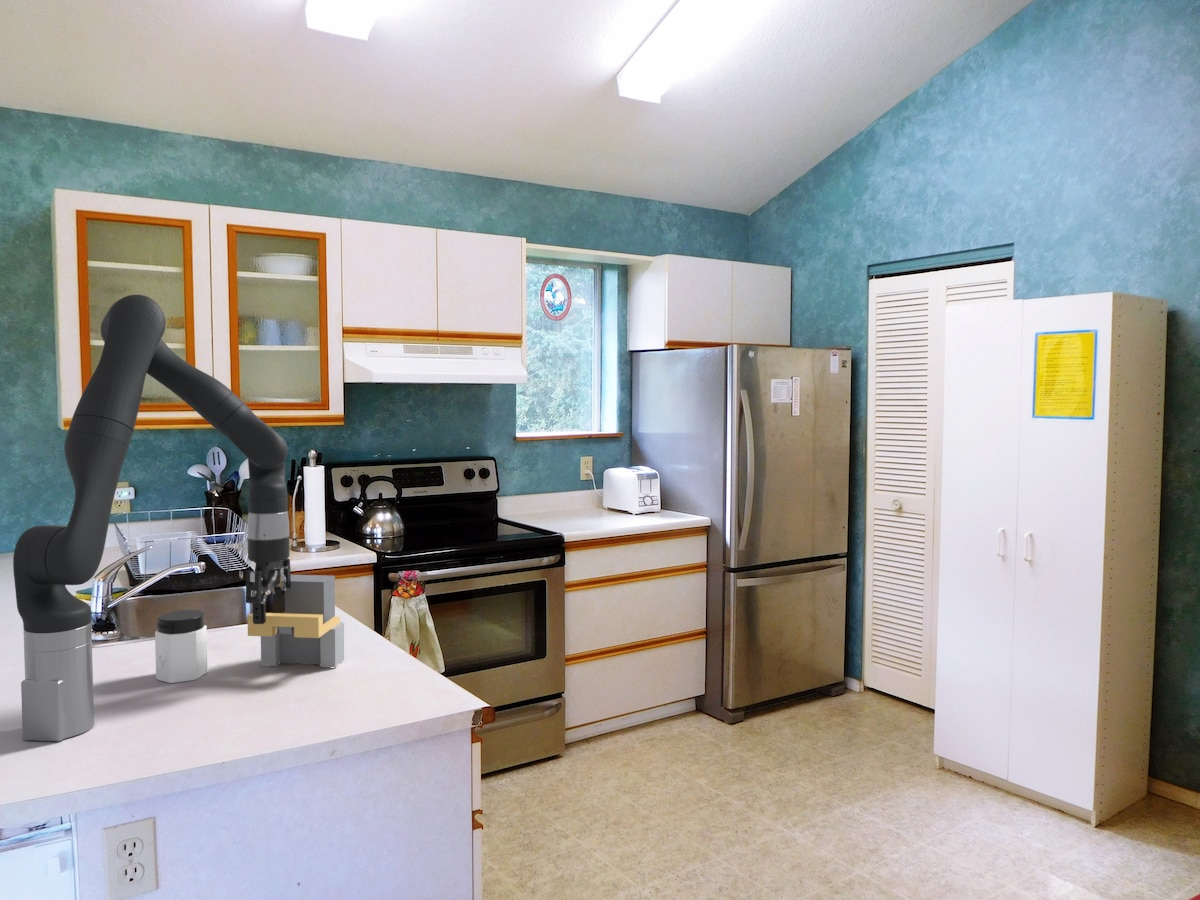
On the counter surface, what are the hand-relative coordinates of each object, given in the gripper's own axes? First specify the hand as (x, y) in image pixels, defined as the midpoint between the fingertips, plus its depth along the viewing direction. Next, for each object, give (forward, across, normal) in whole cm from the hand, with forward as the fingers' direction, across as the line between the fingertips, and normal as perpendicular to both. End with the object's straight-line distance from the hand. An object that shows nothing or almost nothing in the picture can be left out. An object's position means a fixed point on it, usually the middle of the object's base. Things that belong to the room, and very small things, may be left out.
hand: (269, 617), depth 164 cm
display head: (+11, +6, -3) cm, 13 cm away
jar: (+12, -2, +17) cm, 20 cm away
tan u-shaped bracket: (+3, +5, -3) cm, 6 cm away
